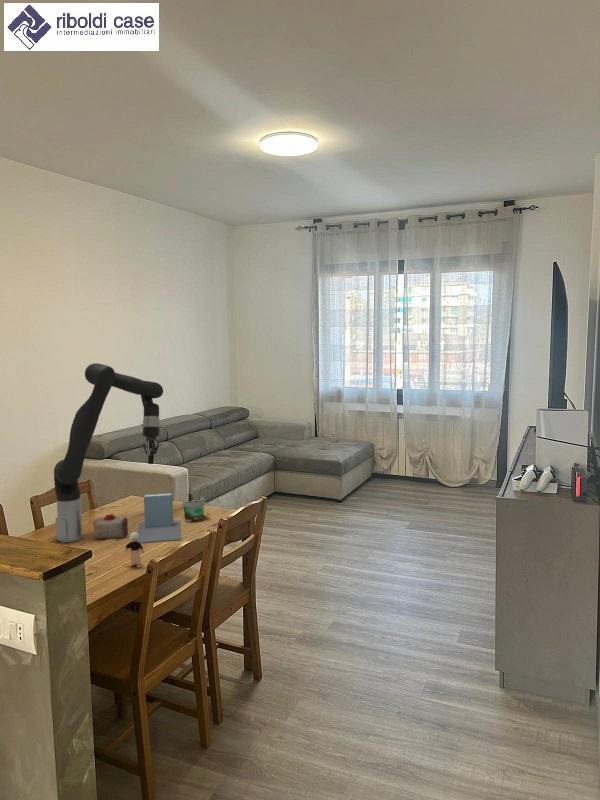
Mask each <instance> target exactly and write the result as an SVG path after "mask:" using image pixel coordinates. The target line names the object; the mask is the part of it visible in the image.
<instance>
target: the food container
mask: <svg viewBox="0 0 600 800" xmlns="http://www.w3.org/2000/svg"><path fill="white" fill-rule="evenodd" d="M205 504H206V499H205V497H204V496H203V495H202V496H201V495H200V496H199V498H197V499H191V500H190V501H182V507H183V515H184V521H185V522H187V523H195V522H196V523H197V522H201V521H202V520H204V514H205Z"/></svg>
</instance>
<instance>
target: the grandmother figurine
mask: <svg viewBox="0 0 600 800" xmlns="http://www.w3.org/2000/svg"><path fill="white" fill-rule="evenodd" d="M138 536H139V535H138V531H137V532H136V531H134V532H132V533H131V534H130V535H129V537H128V539H129V540H131V541H130V542H129V543H126V545H125V549H124V551H125V552H128V550H130V563H131V565H130V567H131V566H135V565H136V566H141V567H143V566H144V564H143V563H142V559H141V558H142V557H141V554H145V551H144V547H143V544H140V543H139V542H136V541H137V540H138ZM142 565H143V566H142ZM136 566H135V567H136Z"/></svg>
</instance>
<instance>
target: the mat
mask: <svg viewBox="0 0 600 800" xmlns="http://www.w3.org/2000/svg"><path fill="white" fill-rule="evenodd" d="M181 531H182V530H181V520H180V519H177V520H173V526H165V527H152V528H145V522H139V523H138V528H137V533H138V535H139V536H138V540H137V541H136V542H139V543H140V544H141V543H142V544H151V543H152V544H153V543H162V542H163V543H165V542H167V543H168V542H176V541H182V532H181ZM142 544H141V545H142Z"/></svg>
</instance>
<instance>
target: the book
mask: <svg viewBox="0 0 600 800" xmlns="http://www.w3.org/2000/svg"><path fill="white" fill-rule="evenodd" d="M143 506H144V508H143V510H144V511H143V512H144V523H145V528H152V527H165V526H173V521H174V512H173V510H174V509H173V493H172V492H166V493H150V494H149V493H148V494H144V495H143Z"/></svg>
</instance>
